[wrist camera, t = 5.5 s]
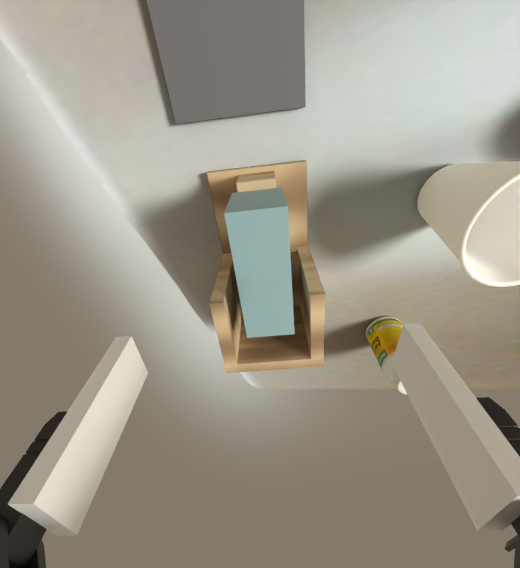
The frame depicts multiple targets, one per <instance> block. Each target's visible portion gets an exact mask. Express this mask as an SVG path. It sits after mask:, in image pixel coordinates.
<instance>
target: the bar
mask: <svg viewBox="0 0 520 568" xmlns="http://www.w3.org/2000/svg"><path fill="white" fill-rule="evenodd" d="M224 215H225V221H226V226H227V231H228V237H229V242H230V248H231V253H232V259H233V264H234V270H235V275H236V280H237V286H238V291H239V297H240V302H241V308H242V313H243V319H244V324H245V329H246V335H247V338H252V337H265V336H277V335H290V334H295V331H294V312H293V294H292V275H291V257H290V238H289V220H288V205H287V202H286V199H285V195H284V192H283V188H282V187H280V188H271V189H263V190H254V191H245V192H236V193H232V195H231V197H230V200H229V202H228V205H227V207H226V210H225V212H224Z"/></svg>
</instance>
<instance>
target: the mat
mask: <svg viewBox="0 0 520 568" xmlns="http://www.w3.org/2000/svg"><path fill="white" fill-rule="evenodd" d="M146 1H147V5H148V9H149V14H150V18H151V22H152V26H153V30H154V35H155V39H156V43H157V47H158V51H159V56H160V60H161V64H162V68H163V72H164V77H165V81H166V85H167V89H168V93H169V98H170V102H171V106H172V110H173V114H174V119H175V123H176V124H180V123H188V122H196V121H203V120H211V119H219V118H226V117H234V116H242V115H249V114H257V113H265V112H272V111H280V110H287V109H295V108H303V107H305V49H304V0H146Z"/></svg>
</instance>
